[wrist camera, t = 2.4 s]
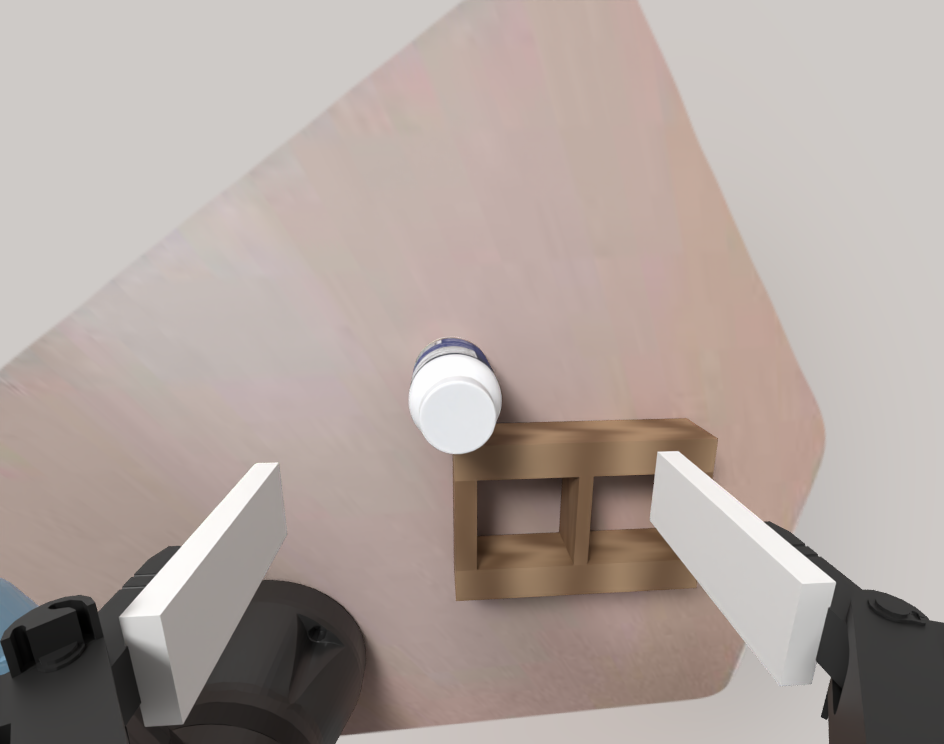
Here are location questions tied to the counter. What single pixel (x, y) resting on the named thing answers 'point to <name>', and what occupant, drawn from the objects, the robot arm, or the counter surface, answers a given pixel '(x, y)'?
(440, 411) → the pill bottle
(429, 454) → the counter surface
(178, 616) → the robot arm
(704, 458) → the socket board
